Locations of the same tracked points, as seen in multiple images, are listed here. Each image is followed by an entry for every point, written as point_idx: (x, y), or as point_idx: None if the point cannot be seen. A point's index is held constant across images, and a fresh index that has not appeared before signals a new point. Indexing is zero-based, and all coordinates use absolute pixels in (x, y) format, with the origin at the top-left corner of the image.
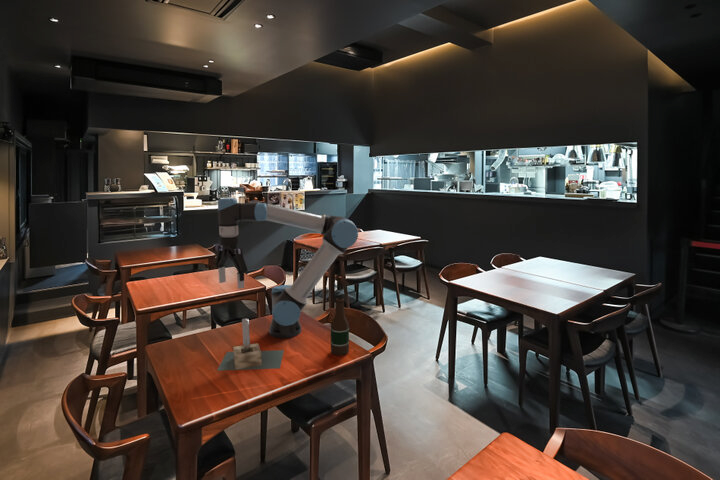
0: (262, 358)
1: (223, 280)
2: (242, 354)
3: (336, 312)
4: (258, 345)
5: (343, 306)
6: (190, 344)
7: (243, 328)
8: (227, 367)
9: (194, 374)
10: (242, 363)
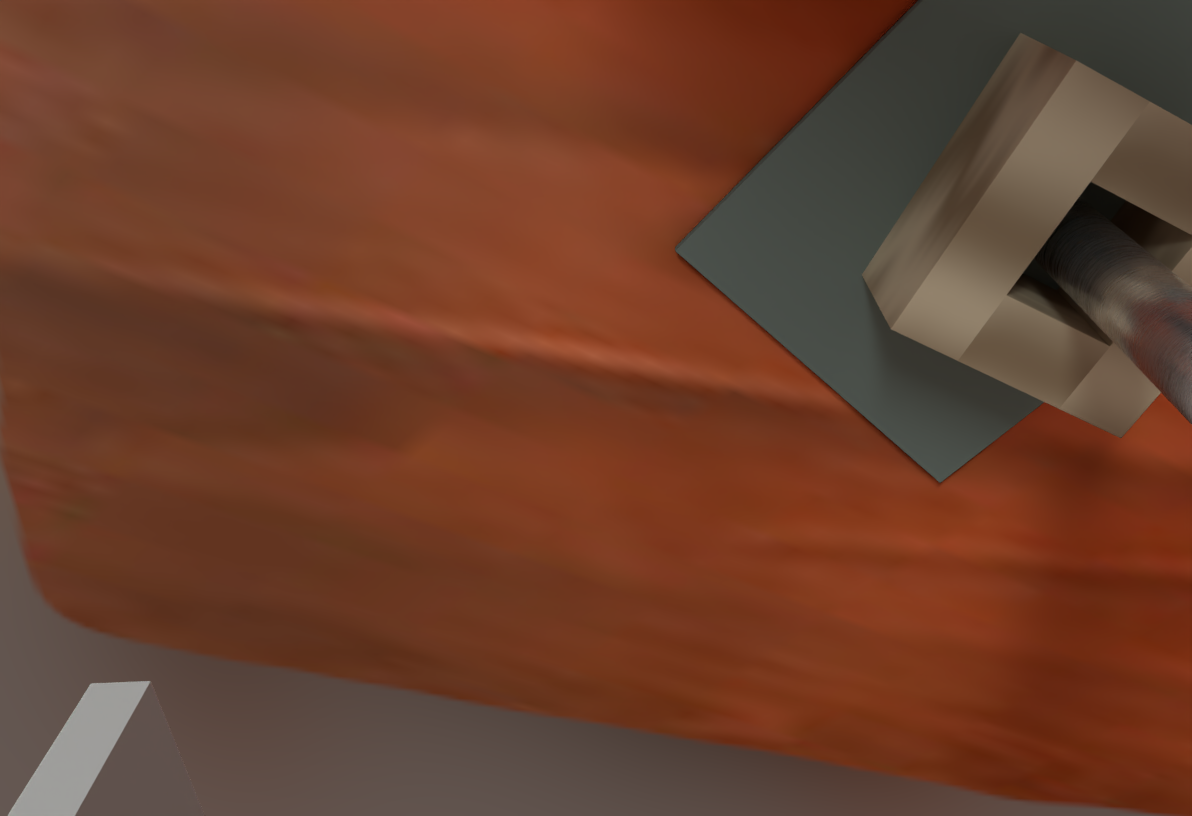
0: (1138, 60)
1: (149, 795)
2: None
3: None
4: (1131, 97)
5: None
6: (221, 401)
7: None
8: (970, 401)
9: (826, 597)
10: None
